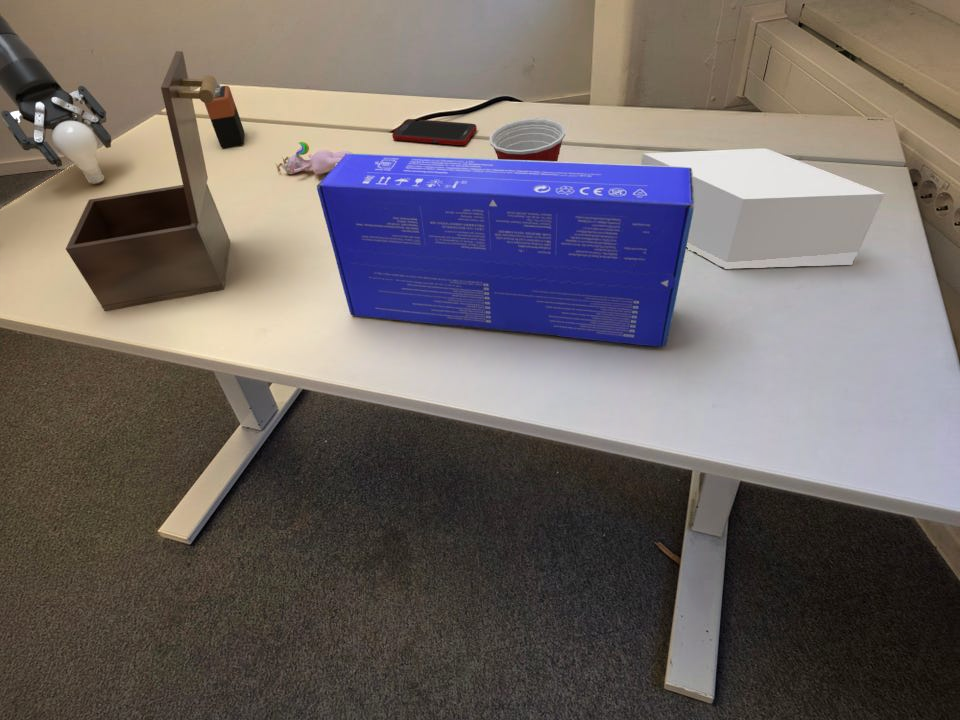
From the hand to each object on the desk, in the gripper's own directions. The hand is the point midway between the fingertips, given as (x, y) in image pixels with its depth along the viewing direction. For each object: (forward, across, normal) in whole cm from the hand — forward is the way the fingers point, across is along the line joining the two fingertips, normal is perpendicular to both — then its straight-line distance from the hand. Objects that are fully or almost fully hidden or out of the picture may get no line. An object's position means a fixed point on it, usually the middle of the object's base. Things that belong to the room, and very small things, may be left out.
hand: (85, 154), depth 103 cm
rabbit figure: (+25, +25, -17) cm, 40 cm away
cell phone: (+30, +48, -22) cm, 60 cm away
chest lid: (+20, 0, -38) cm, 43 cm away
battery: (+7, +24, +1) cm, 25 cm away
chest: (+30, -7, -22) cm, 37 cm away
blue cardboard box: (+61, +15, -52) cm, 81 cm away
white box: (+72, +46, -64) cm, 107 cm away
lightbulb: (+3, 0, +5) cm, 6 cm away
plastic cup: (+51, +36, -43) cm, 76 cm away
